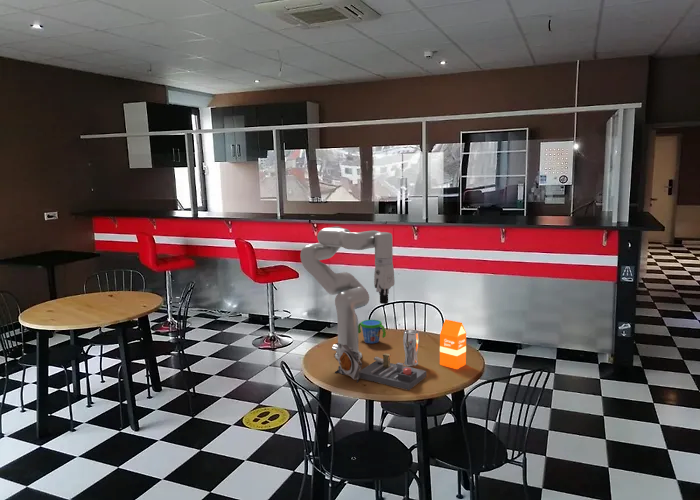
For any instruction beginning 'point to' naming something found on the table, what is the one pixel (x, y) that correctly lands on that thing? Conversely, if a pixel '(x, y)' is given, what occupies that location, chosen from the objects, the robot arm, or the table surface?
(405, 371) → the button
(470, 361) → the table surface
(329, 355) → the table surface
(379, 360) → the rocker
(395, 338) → the table surface
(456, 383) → the table surface
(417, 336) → the beer glass
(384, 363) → the brass slider
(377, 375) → the panel
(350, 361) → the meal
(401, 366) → the steel slider
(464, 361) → the orange juice
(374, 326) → the snack cup
